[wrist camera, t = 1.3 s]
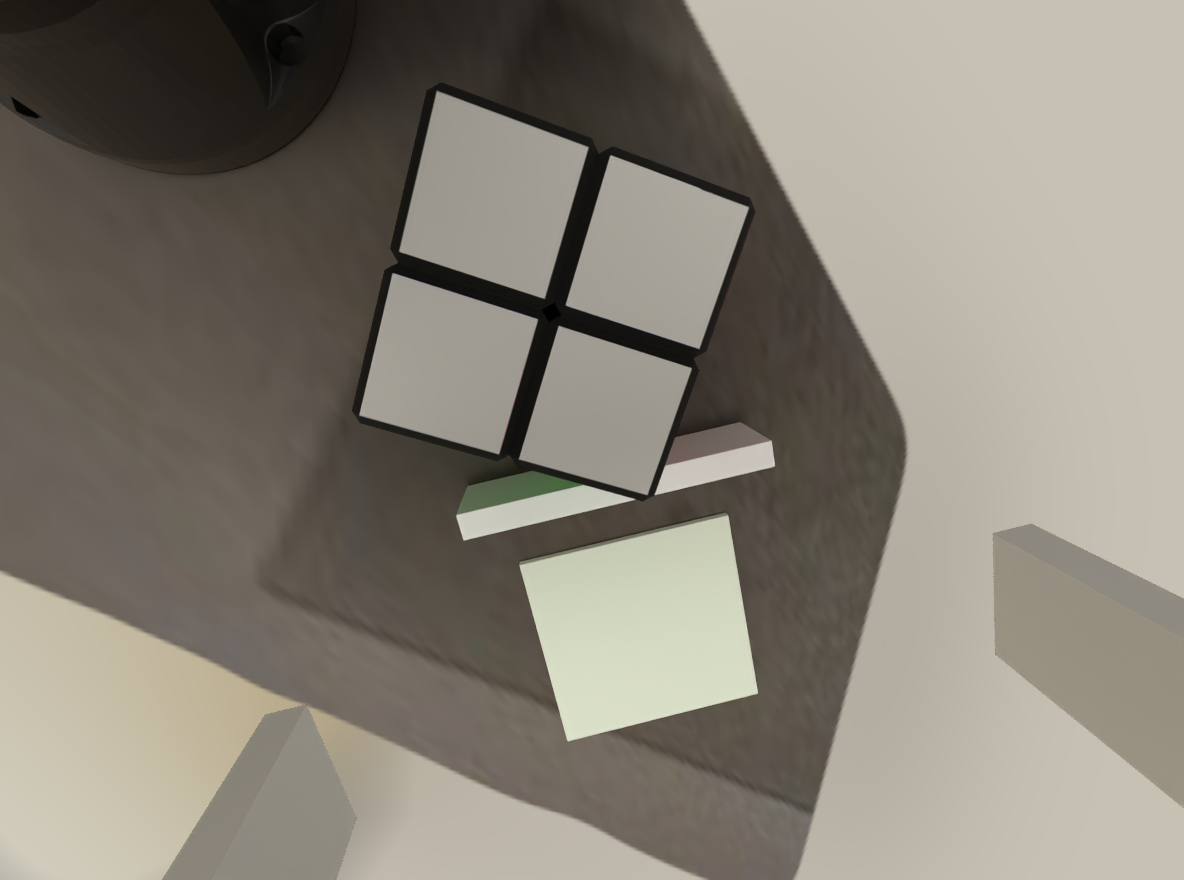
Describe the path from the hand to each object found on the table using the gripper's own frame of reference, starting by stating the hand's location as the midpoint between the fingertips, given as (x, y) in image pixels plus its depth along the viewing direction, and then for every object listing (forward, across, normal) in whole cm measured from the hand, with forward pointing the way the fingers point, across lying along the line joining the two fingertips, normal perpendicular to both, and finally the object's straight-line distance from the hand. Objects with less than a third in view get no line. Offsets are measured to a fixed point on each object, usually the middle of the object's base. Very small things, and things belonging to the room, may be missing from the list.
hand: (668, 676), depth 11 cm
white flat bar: (+18, +1, -2) cm, 18 cm away
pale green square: (+18, +1, -11) cm, 21 cm away
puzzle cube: (+19, 0, +6) cm, 20 cm away
